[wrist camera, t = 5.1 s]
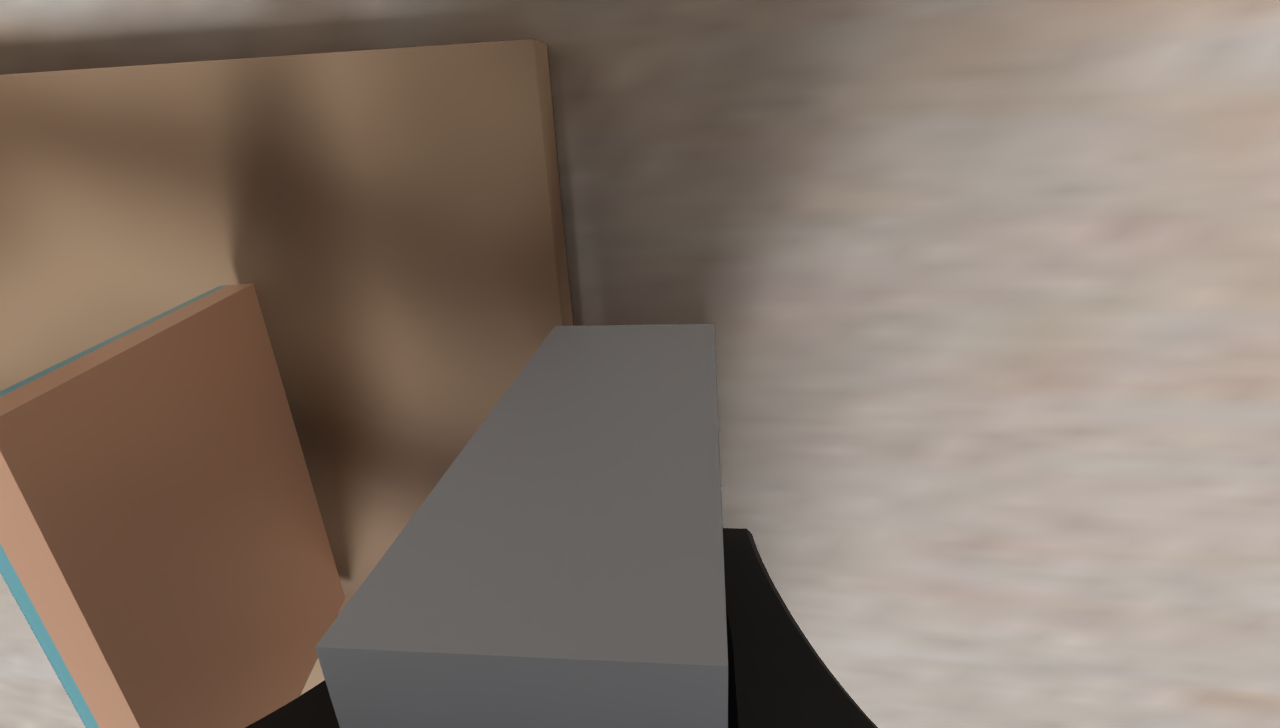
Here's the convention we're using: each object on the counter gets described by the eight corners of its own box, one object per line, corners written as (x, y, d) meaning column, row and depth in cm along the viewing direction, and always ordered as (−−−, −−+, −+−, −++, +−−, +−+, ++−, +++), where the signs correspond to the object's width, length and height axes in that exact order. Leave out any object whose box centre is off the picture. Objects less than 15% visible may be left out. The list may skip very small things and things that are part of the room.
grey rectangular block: (715, 615, 16) (724, 1145, 8) (583, 610, 16) (457, 1111, 8) (714, 323, 13) (728, 666, 5) (555, 325, 14) (314, 647, 5)
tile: (215, 878, 12) (172, 884, 12) (345, 597, 19) (318, 601, 19) (-14, 423, 8) (-80, 429, 8) (253, 283, 15) (219, 285, 15)
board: (606, 683, 22) (601, 714, 20) (142, 660, 24) (114, 687, 22) (546, 44, 14) (533, 39, 13) (-128, 89, 16) (-190, 87, 15)
